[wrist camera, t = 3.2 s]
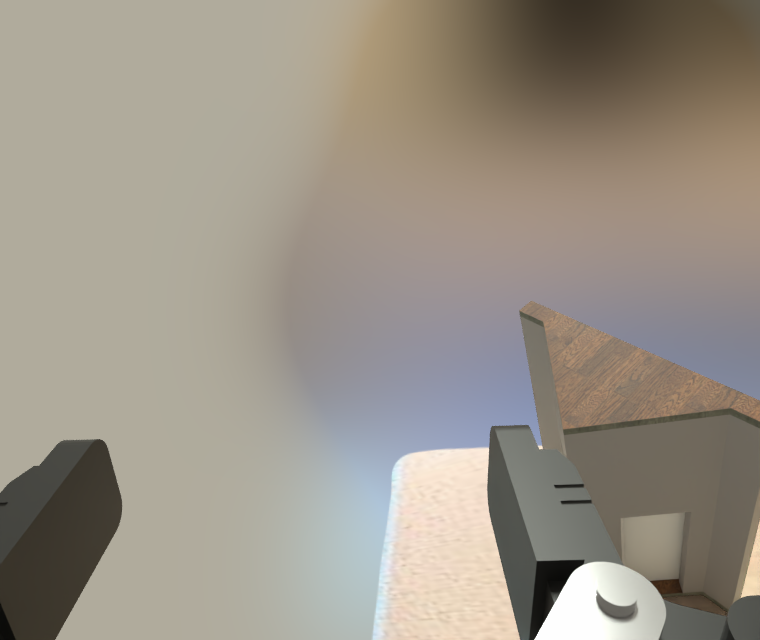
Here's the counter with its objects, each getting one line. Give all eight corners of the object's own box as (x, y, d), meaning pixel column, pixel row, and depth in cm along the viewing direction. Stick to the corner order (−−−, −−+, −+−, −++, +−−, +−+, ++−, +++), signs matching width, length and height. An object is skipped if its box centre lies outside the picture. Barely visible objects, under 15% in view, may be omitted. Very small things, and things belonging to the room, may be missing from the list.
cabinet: (739, 601, 55) (786, 412, 37) (681, 681, 51) (702, 514, 34) (558, 477, 69) (531, 300, 52) (503, 533, 66) (455, 364, 49)
